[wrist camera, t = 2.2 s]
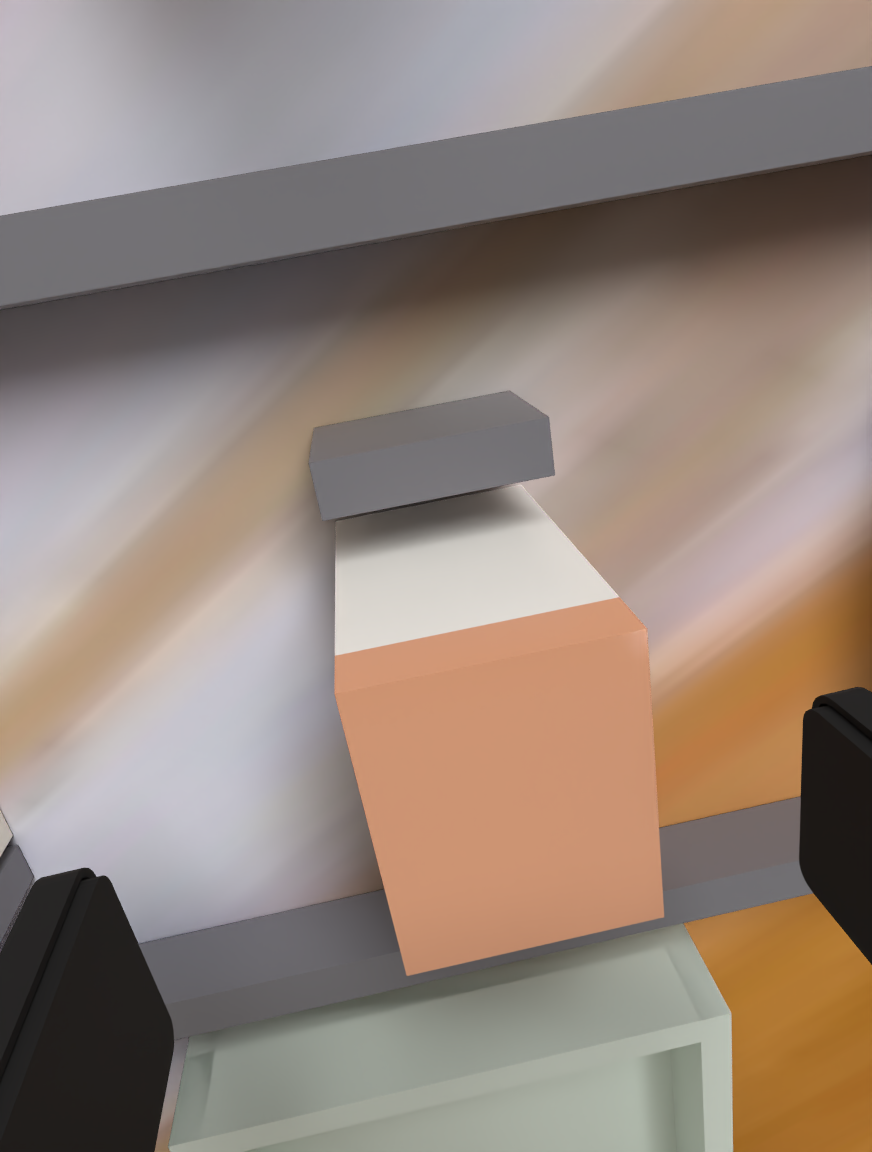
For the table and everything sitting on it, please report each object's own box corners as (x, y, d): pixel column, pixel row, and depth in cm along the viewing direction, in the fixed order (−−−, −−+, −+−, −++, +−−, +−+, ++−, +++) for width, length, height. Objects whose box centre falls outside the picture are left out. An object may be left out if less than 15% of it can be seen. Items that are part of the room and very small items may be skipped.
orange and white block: (521, 484, 16) (646, 629, 9) (545, 684, 18) (664, 917, 11) (335, 520, 16) (334, 693, 9) (381, 718, 18) (406, 976, 11)
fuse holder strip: (1130, 36, 14) (1523, -81, 9) (1003, 784, 21) (1193, 929, 16) (-480, 315, 12) (-959, 339, 8) (-45, 1020, 19) (-164, 1254, 15)
